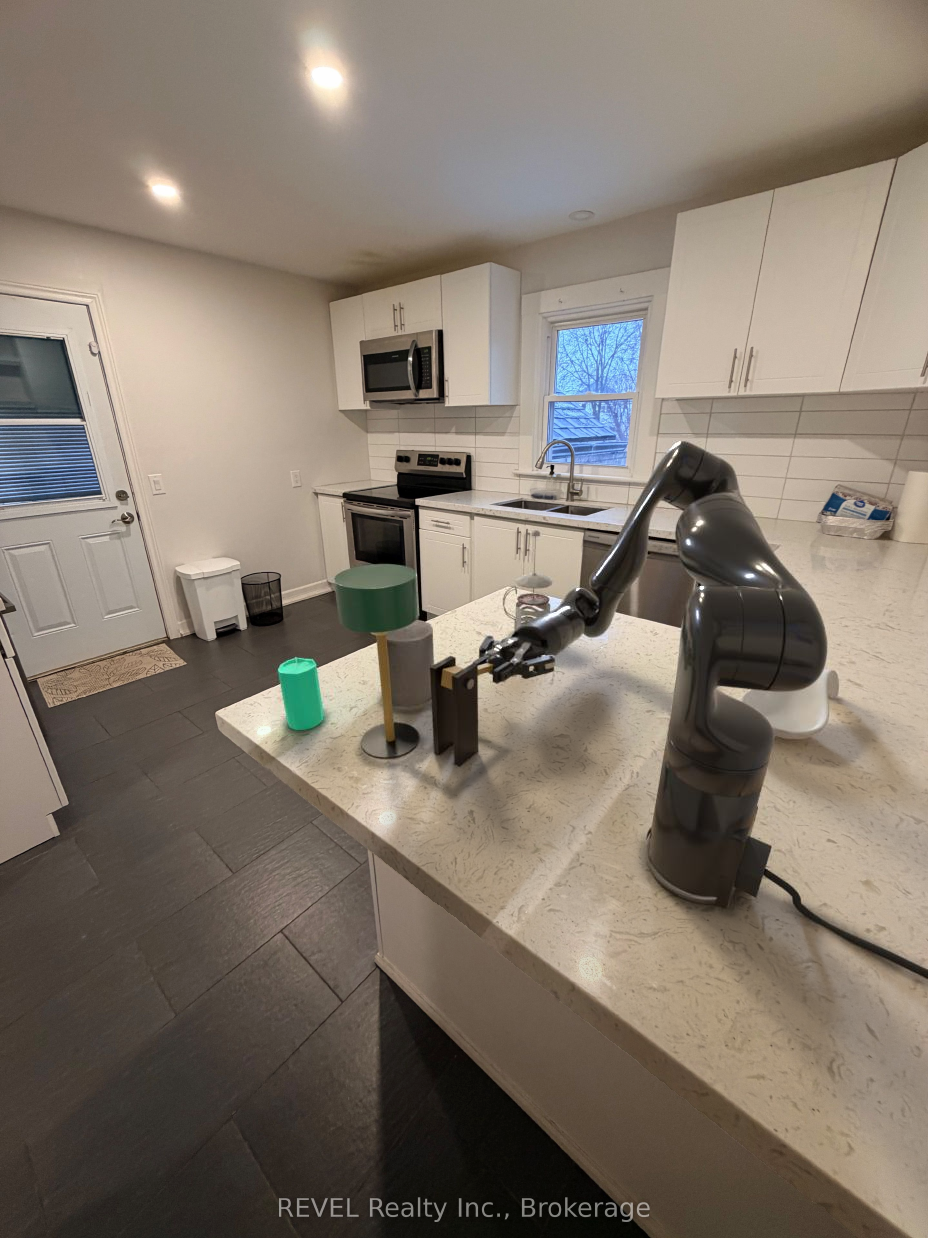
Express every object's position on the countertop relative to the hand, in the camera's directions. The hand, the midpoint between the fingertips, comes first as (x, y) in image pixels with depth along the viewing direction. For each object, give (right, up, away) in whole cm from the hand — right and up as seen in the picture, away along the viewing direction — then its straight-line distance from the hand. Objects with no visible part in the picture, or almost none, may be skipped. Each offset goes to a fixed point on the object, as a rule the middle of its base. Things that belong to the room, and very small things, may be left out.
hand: (484, 673), depth 74 cm
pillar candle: (-13, -6, +16) cm, 22 cm away
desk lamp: (-13, -12, +2) cm, 18 cm away
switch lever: (-2, -1, -2) cm, 2 cm away
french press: (+12, +4, +39) cm, 41 cm away
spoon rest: (+52, -8, +9) cm, 54 cm away
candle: (-30, -9, +10) cm, 33 cm away
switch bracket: (-4, -13, 0) cm, 14 cm away
